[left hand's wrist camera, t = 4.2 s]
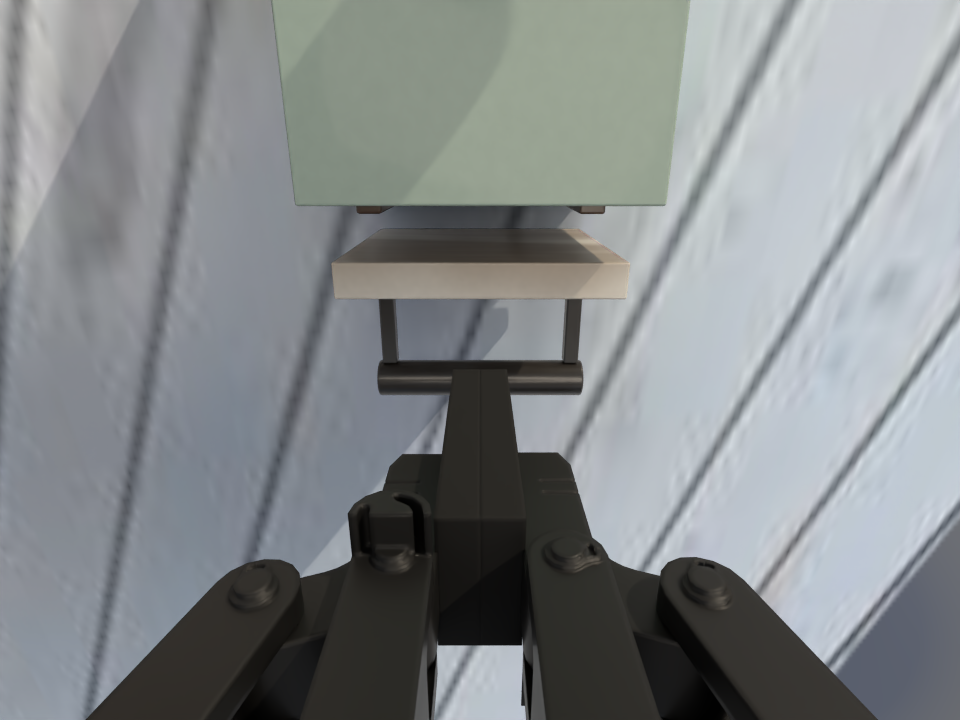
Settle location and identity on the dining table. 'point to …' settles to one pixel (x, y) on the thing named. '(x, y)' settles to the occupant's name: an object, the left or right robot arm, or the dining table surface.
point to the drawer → (480, 292)
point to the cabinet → (480, 100)
